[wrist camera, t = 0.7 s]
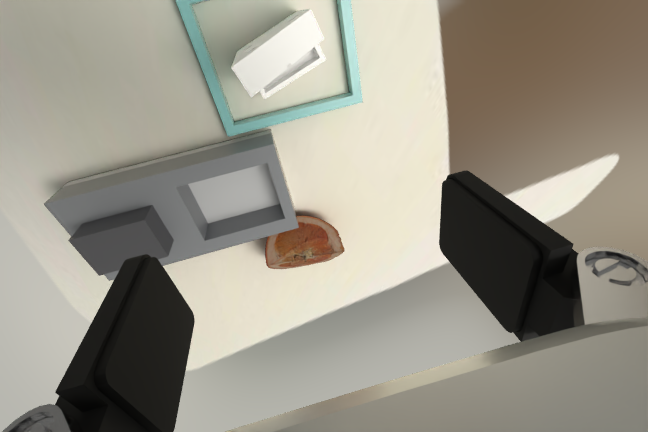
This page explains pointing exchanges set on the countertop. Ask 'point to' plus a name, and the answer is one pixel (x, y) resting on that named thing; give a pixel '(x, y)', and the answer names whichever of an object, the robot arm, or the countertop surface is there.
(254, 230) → the grey slotted holder
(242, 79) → the white angled block
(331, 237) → the fruit slice
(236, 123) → the tray frame
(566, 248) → the robot arm
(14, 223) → the countertop surface
